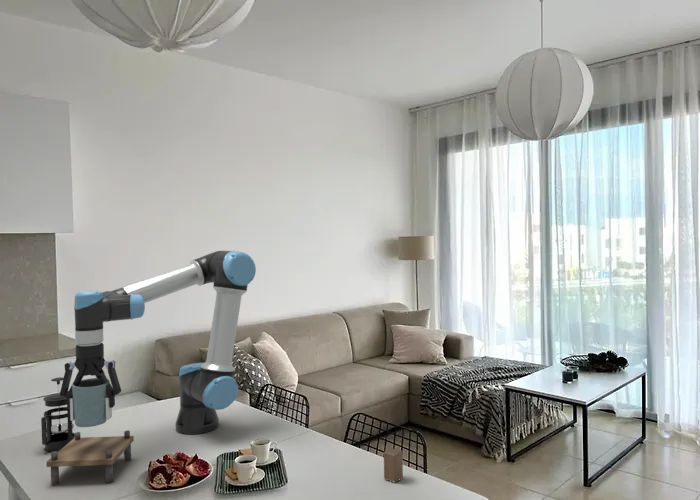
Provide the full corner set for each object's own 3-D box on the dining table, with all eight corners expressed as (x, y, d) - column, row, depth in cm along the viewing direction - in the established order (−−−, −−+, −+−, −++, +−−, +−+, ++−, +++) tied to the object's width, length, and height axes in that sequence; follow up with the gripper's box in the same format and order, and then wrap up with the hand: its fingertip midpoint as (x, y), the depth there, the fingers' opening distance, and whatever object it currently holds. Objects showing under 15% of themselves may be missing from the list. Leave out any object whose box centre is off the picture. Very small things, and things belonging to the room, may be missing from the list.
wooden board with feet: (134, 457, 173) (133, 429, 172) (112, 483, 155) (112, 452, 154) (75, 459, 172) (74, 431, 171) (47, 486, 154) (46, 454, 153)
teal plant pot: (83, 416, 168) (82, 377, 167) (116, 416, 168) (115, 377, 167) (65, 428, 158) (64, 387, 157) (100, 428, 157) (99, 386, 157)
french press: (62, 439, 189) (60, 373, 188) (84, 442, 186) (82, 375, 185) (32, 452, 178) (30, 382, 177) (55, 455, 175) (53, 384, 174)
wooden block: (391, 474, 158) (391, 447, 158) (403, 478, 155) (403, 450, 155) (383, 479, 155) (383, 451, 155) (395, 483, 152) (394, 455, 152)
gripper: (132, 340, 166) (133, 413, 167) (57, 341, 165) (59, 415, 166) (123, 345, 159) (125, 421, 159) (44, 347, 157) (46, 424, 158)
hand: (91, 418), depth 163 cm, fingers closed on teal plant pot, 9 cm apart
